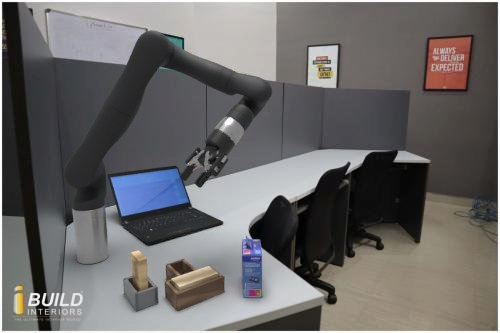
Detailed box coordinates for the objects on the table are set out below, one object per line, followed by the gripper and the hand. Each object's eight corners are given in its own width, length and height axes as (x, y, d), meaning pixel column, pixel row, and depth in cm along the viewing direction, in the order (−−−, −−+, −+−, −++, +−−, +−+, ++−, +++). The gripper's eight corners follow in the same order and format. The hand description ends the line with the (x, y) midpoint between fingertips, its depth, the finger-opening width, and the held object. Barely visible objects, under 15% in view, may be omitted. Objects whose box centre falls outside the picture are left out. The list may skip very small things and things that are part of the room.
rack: (152, 283, 94) (151, 268, 93) (196, 268, 102) (195, 255, 101) (177, 311, 82) (177, 294, 81) (224, 292, 90) (224, 276, 89)
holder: (124, 294, 88) (123, 278, 87) (145, 287, 92) (144, 272, 91) (136, 311, 81) (135, 294, 80) (158, 303, 85) (157, 286, 84)
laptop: (147, 248, 116) (144, 194, 112) (109, 218, 144) (106, 174, 140) (224, 225, 138) (224, 179, 134) (178, 203, 165) (177, 164, 161)
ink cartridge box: (241, 278, 97) (241, 230, 94) (260, 277, 97) (261, 230, 94) (241, 298, 87) (242, 246, 84) (262, 298, 87) (264, 246, 84)
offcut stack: (170, 298, 87) (169, 279, 86) (209, 283, 94) (209, 265, 93) (179, 307, 83) (178, 287, 82) (219, 291, 90) (218, 273, 89)
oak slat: (133, 294, 88) (130, 252, 86) (141, 292, 89) (138, 250, 87) (141, 304, 84) (138, 260, 81) (149, 302, 85) (146, 258, 83)
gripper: (203, 125, 97) (168, 169, 93) (231, 129, 86) (193, 179, 82) (219, 142, 102) (186, 185, 97) (247, 148, 91) (212, 196, 86)
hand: (189, 182), depth 90 cm, fingers open, 8 cm apart
